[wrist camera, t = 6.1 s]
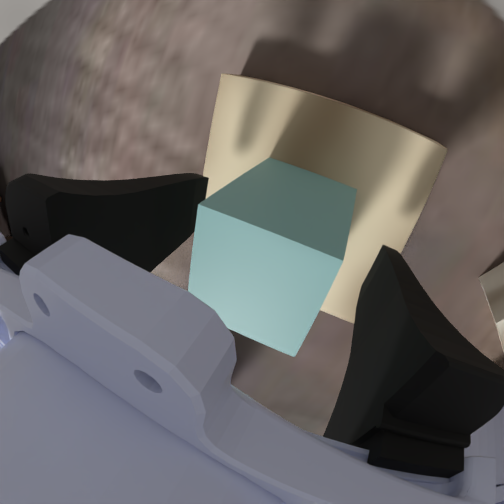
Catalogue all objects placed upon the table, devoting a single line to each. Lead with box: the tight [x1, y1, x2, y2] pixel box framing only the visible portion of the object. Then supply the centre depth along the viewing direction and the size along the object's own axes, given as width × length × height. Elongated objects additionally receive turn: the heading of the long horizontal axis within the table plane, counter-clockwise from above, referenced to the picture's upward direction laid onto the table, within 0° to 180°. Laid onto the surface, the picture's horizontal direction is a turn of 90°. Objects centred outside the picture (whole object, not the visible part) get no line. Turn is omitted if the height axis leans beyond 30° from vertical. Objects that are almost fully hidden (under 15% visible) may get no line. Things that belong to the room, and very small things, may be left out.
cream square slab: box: [203, 74, 448, 323], centre depth 14 cm, size 10×10×2 cm
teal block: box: [188, 157, 357, 357], centre depth 11 cm, size 4×4×6 cm
